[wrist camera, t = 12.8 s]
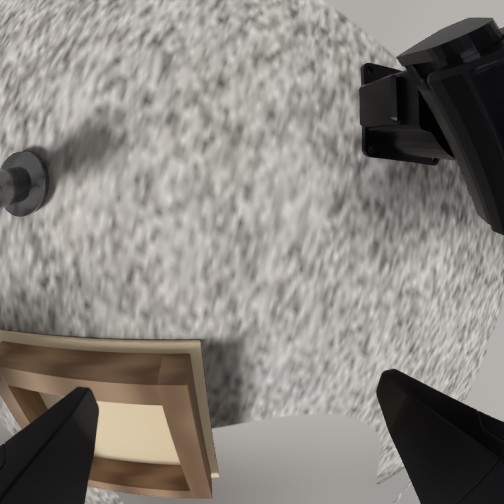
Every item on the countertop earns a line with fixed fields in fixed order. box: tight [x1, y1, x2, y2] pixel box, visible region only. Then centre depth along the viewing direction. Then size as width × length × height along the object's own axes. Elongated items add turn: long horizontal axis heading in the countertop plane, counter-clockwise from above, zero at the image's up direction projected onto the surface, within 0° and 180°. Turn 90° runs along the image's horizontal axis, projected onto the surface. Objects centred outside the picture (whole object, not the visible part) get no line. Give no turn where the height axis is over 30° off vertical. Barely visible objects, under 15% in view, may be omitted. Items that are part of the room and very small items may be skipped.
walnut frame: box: [0, 341, 212, 499], centre depth 21 cm, size 18×18×4 cm
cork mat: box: [0, 330, 219, 477], centre depth 23 cm, size 20×20×1 cm
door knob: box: [0, 151, 49, 217], centre depth 13 cm, size 4×4×6 cm
